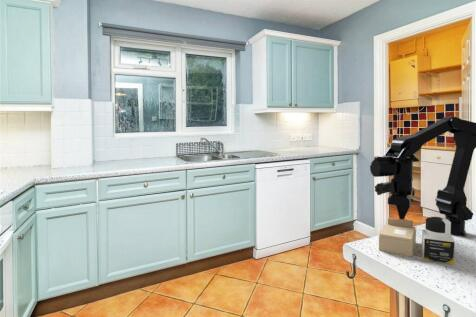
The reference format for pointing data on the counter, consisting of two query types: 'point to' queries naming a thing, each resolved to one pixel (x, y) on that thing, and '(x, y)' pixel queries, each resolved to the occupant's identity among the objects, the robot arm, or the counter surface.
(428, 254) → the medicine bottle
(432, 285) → the counter surface
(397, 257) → the counter surface
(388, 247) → the mailer box
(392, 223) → the lid
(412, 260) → the counter surface
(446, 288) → the counter surface
